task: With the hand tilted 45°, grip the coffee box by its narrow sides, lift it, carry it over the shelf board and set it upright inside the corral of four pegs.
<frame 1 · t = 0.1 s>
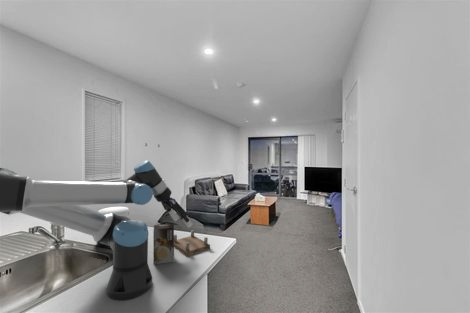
hand: (183, 222, 110), 15 cm above the kitchen counter, tool tilted 35°, fingers open, 13 cm apart
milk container: (113, 242, 123), on the kitchen counter
coffee box: (163, 260, 103), on the kitchen counter
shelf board: (190, 246, 118), on the kitchen counter
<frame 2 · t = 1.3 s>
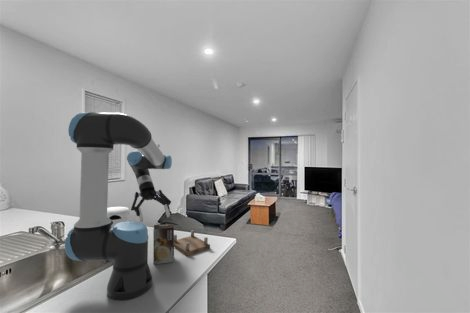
hand: (155, 218, 110), 17 cm above the kitchen counter, tool tilted 45°, fingers open, 13 cm apart
nothing on the kitchen counter moved.
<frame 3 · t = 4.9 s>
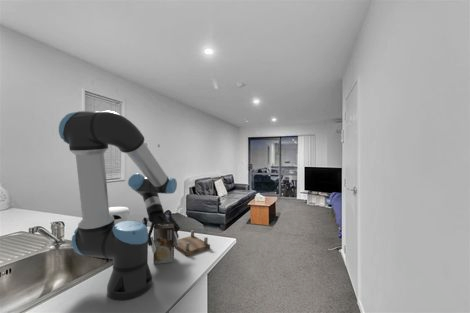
hand: (166, 248, 100), 7 cm above the kitchen counter, tool tilted 45°, fingers closed on coffee box, 10 cm apart
coffee box: (163, 260, 103), on the kitchen counter, touching gripper
everything else where it was.
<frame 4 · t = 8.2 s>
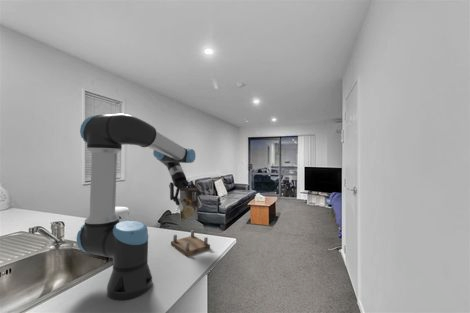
hand: (191, 208, 114), 22 cm above the kitchen counter, tool tilted 45°, fingers closed on coffee box, 10 cm apart
coffee box: (188, 219, 117), point 15 cm above the kitchen counter, touching gripper
everything else where it was.
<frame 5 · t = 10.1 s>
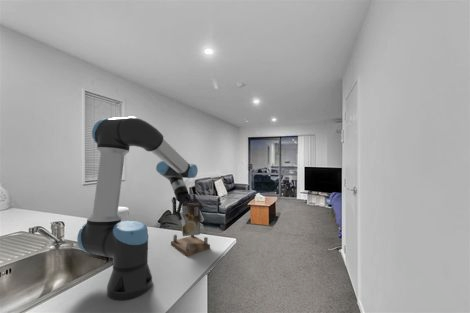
hand: (193, 222, 116), 13 cm above the kitchen counter, tool tilted 45°, fingers closed on coffee box, 10 cm apart
coffee box: (190, 233, 118), point 7 cm above the kitchen counter, touching gripper
everything else where it was.
when the fingers open (10 cm above the kitchen counter, at t = 11.6 s): coffee box drops 1 cm, resting on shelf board.
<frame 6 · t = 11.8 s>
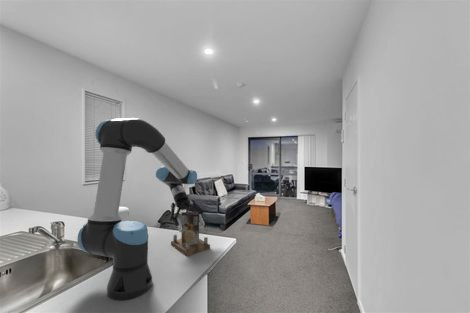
hand: (192, 228, 116), 11 cm above the kitchen counter, tool tilted 45°, fingers open, 13 cm apart
coffee box: (189, 243, 118), point 2 cm above the kitchen counter, touching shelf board
everything else where it was.
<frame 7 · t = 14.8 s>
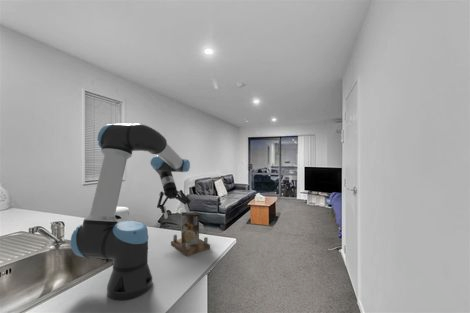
hand: (178, 216, 125), 14 cm above the kitchen counter, tool tilted 40°, fingers open, 13 cm apart
nothing on the kitchen counter moved.
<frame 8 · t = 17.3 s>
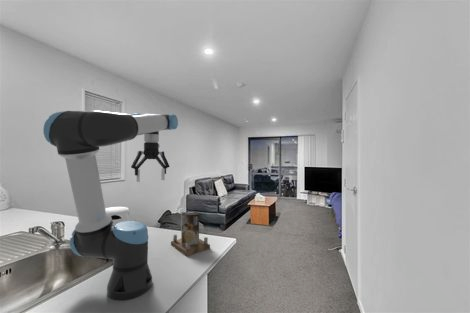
hand: (150, 180, 121), 35 cm above the kitchen counter, tool pointing down, fingers open, 13 cm apart
nothing on the kitchen counter moved.
at the end: coffee box 0.2 cm off-centre on the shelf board, point 1.8 cm above the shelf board's base; coffee box tilted 0°; the gripper is holding nothing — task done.
